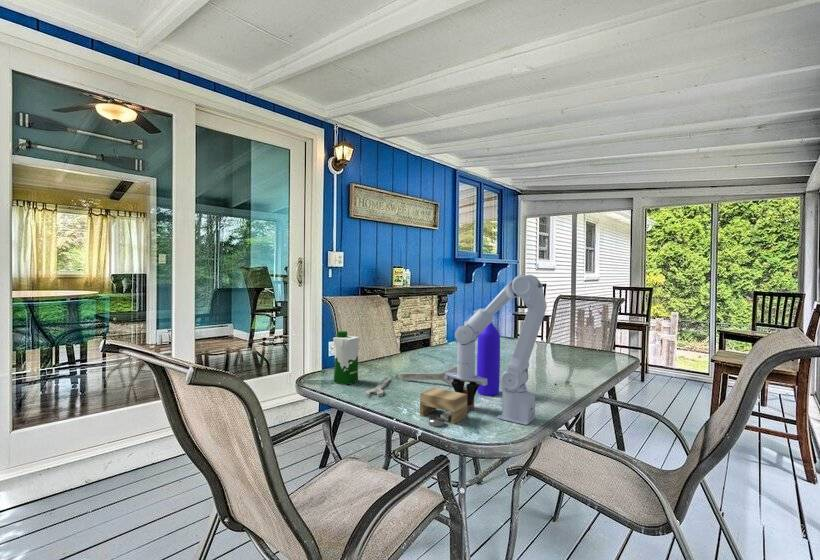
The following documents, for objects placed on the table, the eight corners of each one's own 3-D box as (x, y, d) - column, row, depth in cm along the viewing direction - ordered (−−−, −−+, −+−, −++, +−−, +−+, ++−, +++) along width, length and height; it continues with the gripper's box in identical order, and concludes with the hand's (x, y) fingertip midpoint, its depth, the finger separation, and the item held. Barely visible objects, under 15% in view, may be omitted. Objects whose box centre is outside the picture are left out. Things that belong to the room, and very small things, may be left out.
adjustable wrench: (384, 380, 174) (384, 376, 174) (399, 382, 172) (399, 377, 172) (363, 397, 149) (363, 392, 149) (380, 399, 148) (380, 394, 148)
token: (447, 424, 124) (447, 419, 124) (439, 429, 120) (439, 423, 120) (434, 421, 126) (434, 416, 126) (426, 425, 123) (426, 420, 123)
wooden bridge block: (466, 416, 130) (467, 394, 130) (453, 424, 123) (454, 400, 123) (433, 409, 137) (434, 387, 137) (419, 415, 130) (420, 393, 130)
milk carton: (343, 378, 175) (343, 330, 175) (361, 380, 171) (362, 331, 171) (330, 382, 167) (330, 332, 167) (349, 385, 163) (350, 334, 163)
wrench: (398, 386, 175) (467, 386, 163) (396, 387, 173) (466, 387, 161) (396, 366, 175) (465, 365, 163) (394, 367, 174) (464, 366, 162)
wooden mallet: (474, 407, 140) (474, 389, 139) (448, 421, 126) (448, 401, 126) (466, 405, 141) (466, 387, 141) (439, 419, 127) (440, 399, 127)
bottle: (502, 392, 157) (504, 312, 157) (494, 397, 150) (495, 313, 150) (482, 388, 162) (483, 310, 161) (472, 393, 155) (474, 312, 154)
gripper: (491, 363, 136) (491, 405, 136) (452, 357, 145) (452, 396, 145) (482, 367, 131) (481, 410, 131) (442, 360, 139) (441, 401, 139)
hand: (465, 403), depth 137 cm, fingers closed on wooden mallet, 3 cm apart
